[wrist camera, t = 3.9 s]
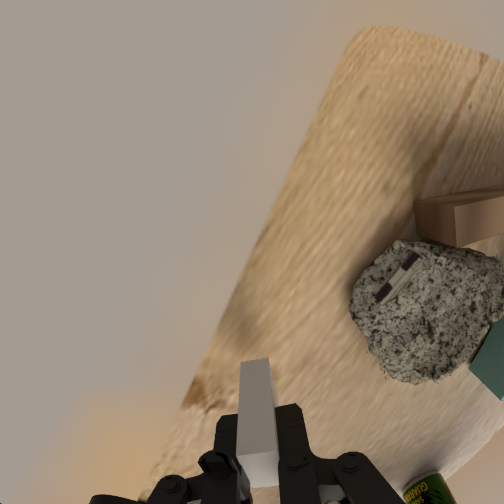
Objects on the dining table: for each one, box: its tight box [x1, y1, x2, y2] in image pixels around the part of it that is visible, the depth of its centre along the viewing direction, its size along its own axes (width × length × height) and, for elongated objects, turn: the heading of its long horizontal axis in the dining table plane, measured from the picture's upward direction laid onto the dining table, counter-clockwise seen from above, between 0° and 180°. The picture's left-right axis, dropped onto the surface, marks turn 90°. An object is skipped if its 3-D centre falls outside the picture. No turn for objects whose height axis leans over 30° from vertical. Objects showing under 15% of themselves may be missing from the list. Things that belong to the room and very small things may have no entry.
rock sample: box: [349, 239, 504, 395], centre depth 14 cm, size 10×8×9 cm
